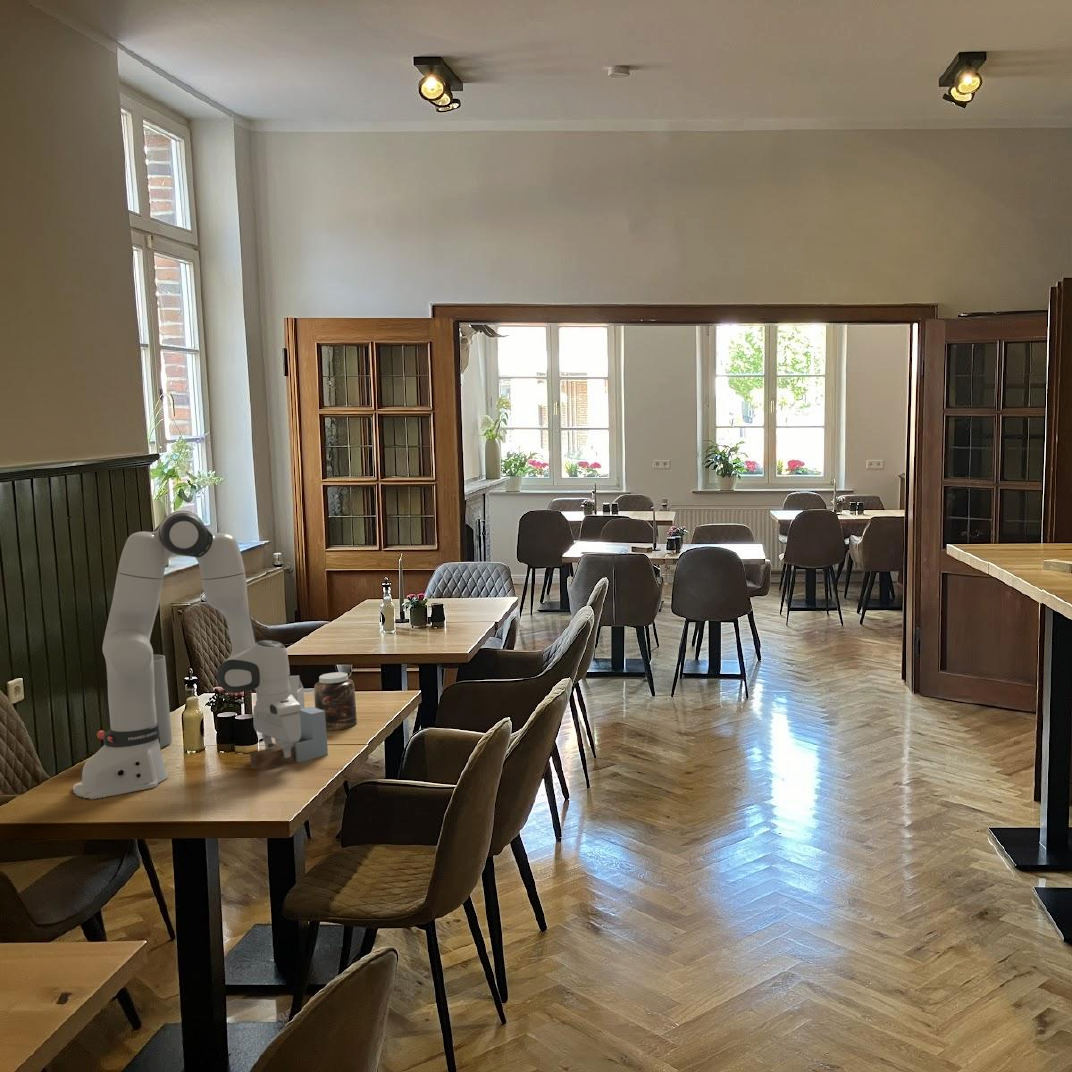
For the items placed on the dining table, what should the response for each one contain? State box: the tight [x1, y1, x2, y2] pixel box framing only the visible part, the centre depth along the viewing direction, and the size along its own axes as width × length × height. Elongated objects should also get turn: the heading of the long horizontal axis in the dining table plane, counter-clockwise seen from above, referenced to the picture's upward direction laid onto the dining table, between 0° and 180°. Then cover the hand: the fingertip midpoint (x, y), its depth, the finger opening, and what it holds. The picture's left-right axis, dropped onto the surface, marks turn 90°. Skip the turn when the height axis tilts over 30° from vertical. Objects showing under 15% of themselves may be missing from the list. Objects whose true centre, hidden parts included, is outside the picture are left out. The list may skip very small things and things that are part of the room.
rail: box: [249, 737, 307, 772], centre depth 282 cm, size 15×4×5 cm, turn 131°
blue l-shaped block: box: [295, 706, 329, 763], centre depth 286 cm, size 9×7×12 cm
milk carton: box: [274, 675, 306, 747], centre depth 299 cm, size 7×7×19 cm
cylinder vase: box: [153, 654, 173, 749], centre depth 303 cm, size 12×12×25 cm
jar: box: [313, 671, 358, 731], centre depth 316 cm, size 12×12×15 cm
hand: (278, 753), depth 281 cm, fingers open, 8 cm apart
